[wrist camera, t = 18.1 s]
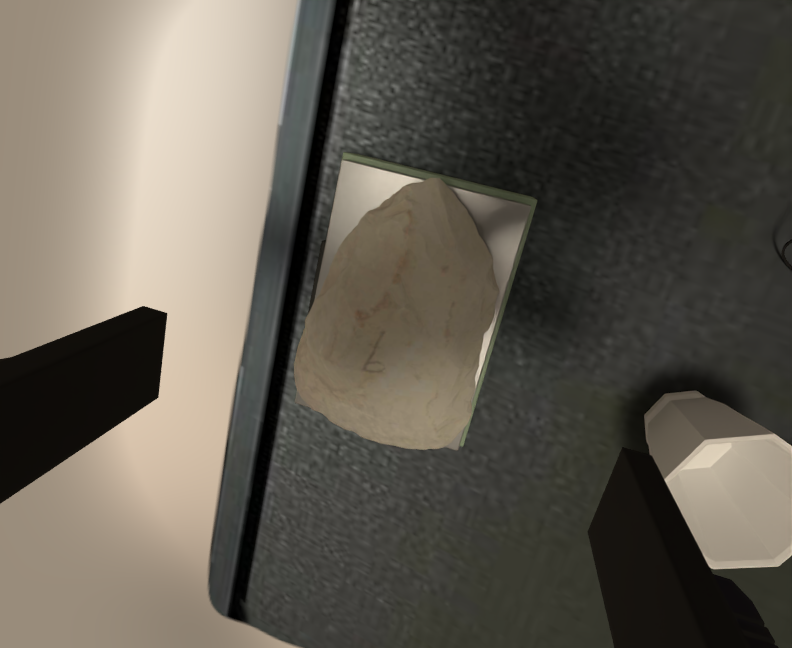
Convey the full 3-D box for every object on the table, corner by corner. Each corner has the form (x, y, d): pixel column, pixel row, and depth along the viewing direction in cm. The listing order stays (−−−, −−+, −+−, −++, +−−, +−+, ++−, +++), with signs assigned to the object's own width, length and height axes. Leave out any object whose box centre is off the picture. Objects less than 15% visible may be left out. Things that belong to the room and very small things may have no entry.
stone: (293, 385, 31) (256, 426, 26) (374, 148, 26) (347, 144, 22) (449, 452, 30) (439, 506, 25) (556, 221, 26) (570, 233, 21)
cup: (641, 353, 31) (689, 413, 23) (827, 399, 30) (941, 476, 22) (602, 461, 33) (635, 548, 26) (774, 507, 32) (863, 612, 25)
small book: (350, 151, 31) (329, 149, 27) (533, 197, 30) (539, 201, 26) (305, 377, 35) (281, 404, 31) (465, 424, 34) (461, 457, 30)
